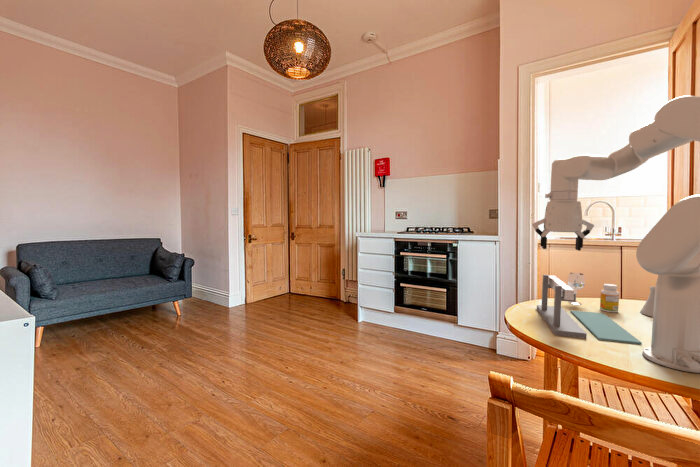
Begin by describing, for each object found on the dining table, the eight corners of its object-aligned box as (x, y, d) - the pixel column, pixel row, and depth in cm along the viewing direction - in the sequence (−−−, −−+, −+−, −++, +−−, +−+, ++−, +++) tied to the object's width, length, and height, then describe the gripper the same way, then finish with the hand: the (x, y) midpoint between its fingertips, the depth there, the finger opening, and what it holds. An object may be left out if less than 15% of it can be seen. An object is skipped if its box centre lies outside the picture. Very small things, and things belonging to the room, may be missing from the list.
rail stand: (586, 338, 97) (588, 291, 96) (554, 335, 99) (556, 288, 98) (561, 311, 123) (562, 273, 122) (536, 308, 126) (538, 272, 125)
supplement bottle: (599, 307, 127) (601, 282, 127) (617, 310, 124) (619, 284, 124) (600, 311, 123) (601, 285, 122) (618, 313, 120) (620, 287, 119)
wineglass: (584, 303, 133) (586, 273, 133) (582, 306, 129) (584, 275, 128) (568, 300, 137) (569, 271, 137) (565, 303, 133) (566, 273, 132)
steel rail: (573, 300, 99) (574, 290, 99) (564, 299, 100) (564, 289, 99) (554, 283, 121) (554, 275, 121) (546, 283, 122) (547, 275, 122)
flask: (673, 319, 114) (675, 290, 113) (649, 317, 116) (650, 289, 115) (658, 312, 121) (660, 285, 121) (635, 311, 123) (637, 284, 122)
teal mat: (641, 344, 92) (641, 342, 92) (598, 339, 96) (598, 337, 95) (603, 314, 118) (603, 313, 118) (570, 311, 122) (570, 310, 122)
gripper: (535, 197, 108) (533, 249, 109) (599, 196, 102) (596, 252, 103) (531, 197, 115) (529, 247, 116) (591, 197, 109) (588, 249, 110)
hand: (560, 249), depth 110 cm, fingers open, 9 cm apart
